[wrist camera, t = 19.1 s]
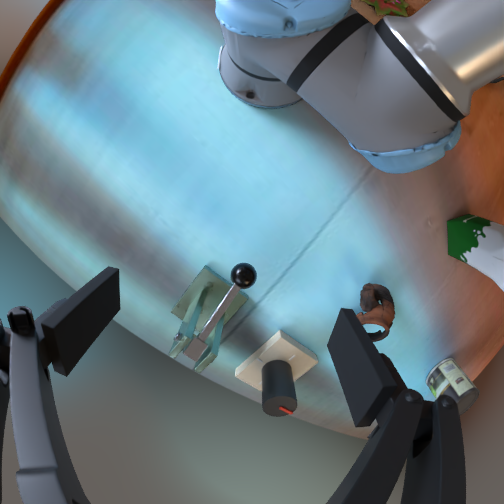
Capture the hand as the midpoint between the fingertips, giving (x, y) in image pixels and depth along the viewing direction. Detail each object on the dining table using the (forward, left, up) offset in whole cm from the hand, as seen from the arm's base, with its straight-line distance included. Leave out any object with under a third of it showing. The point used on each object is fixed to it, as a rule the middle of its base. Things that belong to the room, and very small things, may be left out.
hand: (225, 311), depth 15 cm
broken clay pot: (-16, +22, -29) cm, 40 cm away
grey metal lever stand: (+11, +12, -29) cm, 33 cm away
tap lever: (+7, +10, -20) cm, 24 cm away
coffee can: (-36, +55, -29) cm, 72 cm away
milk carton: (-40, +16, -29) cm, 52 cm away
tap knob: (+4, +29, -26) cm, 39 cm away
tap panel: (+4, +29, -29) cm, 41 cm away
